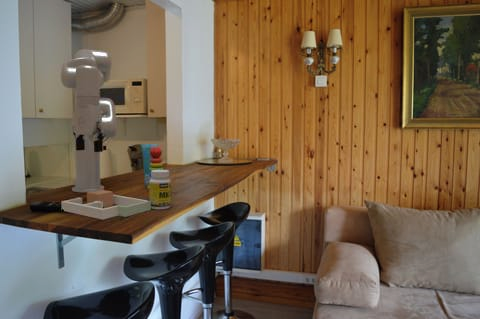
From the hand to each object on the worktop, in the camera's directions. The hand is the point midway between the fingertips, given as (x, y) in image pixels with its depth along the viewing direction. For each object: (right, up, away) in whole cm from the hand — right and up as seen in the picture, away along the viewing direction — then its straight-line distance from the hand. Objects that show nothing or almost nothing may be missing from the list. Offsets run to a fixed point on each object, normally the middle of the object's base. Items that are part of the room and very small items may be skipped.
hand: (89, 151), depth 129 cm
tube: (+12, -15, +40) cm, 44 cm away
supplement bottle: (+26, -20, -3) cm, 33 cm away
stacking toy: (+17, -16, +30) cm, 38 cm away
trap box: (+9, -20, -8) cm, 23 cm away
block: (+5, -19, -2) cm, 20 cm away
